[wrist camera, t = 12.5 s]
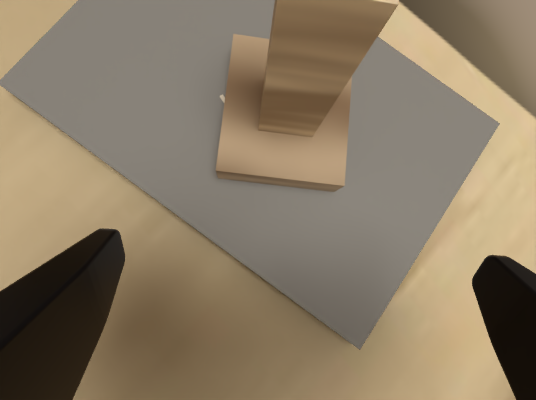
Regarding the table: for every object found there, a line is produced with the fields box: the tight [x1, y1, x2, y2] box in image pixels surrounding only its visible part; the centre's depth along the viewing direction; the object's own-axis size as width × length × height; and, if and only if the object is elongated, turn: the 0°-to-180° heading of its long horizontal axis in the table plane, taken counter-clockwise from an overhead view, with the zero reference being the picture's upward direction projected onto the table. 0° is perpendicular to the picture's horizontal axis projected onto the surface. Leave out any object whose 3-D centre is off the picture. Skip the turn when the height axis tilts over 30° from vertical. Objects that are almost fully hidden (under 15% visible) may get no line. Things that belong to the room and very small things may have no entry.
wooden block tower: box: [216, 0, 398, 192], centre depth 14 cm, size 8×7×12 cm
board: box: [0, 0, 500, 350], centre depth 21 cm, size 26×17×2 cm, turn 54°
